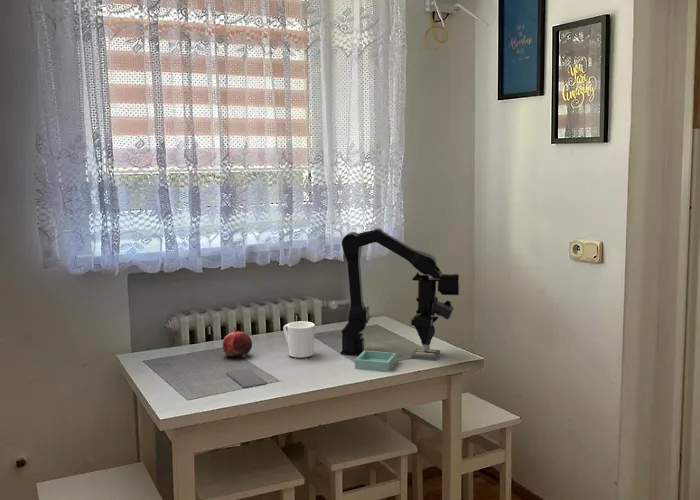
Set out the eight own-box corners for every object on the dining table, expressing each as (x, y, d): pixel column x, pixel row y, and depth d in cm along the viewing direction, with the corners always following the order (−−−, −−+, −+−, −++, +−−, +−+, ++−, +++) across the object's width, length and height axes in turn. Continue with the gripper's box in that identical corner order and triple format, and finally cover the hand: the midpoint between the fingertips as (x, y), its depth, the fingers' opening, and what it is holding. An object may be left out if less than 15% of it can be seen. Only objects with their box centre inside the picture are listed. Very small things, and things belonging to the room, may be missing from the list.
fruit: (254, 359, 236) (253, 328, 234) (224, 361, 233) (223, 330, 232) (249, 351, 244) (249, 321, 243) (221, 353, 242) (220, 323, 240)
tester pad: (411, 358, 236) (411, 354, 236) (416, 351, 244) (416, 347, 243) (435, 360, 234) (435, 356, 234) (440, 353, 241) (440, 349, 241)
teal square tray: (354, 368, 226) (354, 359, 225) (364, 358, 236) (364, 350, 235) (388, 371, 223) (388, 362, 222) (396, 361, 233) (396, 353, 232)
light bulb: (433, 354, 235) (434, 324, 234) (416, 353, 236) (416, 323, 235) (435, 349, 241) (435, 320, 239) (418, 348, 242) (418, 319, 240)
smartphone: (244, 387, 208) (225, 371, 220) (244, 390, 208) (225, 375, 221) (268, 382, 211) (248, 368, 224) (268, 386, 212) (248, 371, 224)
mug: (319, 353, 242) (319, 323, 240) (306, 360, 234) (306, 329, 232) (290, 349, 246) (290, 319, 245) (277, 356, 238) (276, 325, 237)
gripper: (446, 301, 224) (445, 351, 227) (456, 290, 242) (455, 336, 244) (411, 299, 228) (410, 348, 230) (423, 288, 245) (422, 333, 248)
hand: (425, 341), depth 238 cm, fingers closed on light bulb, 5 cm apart
